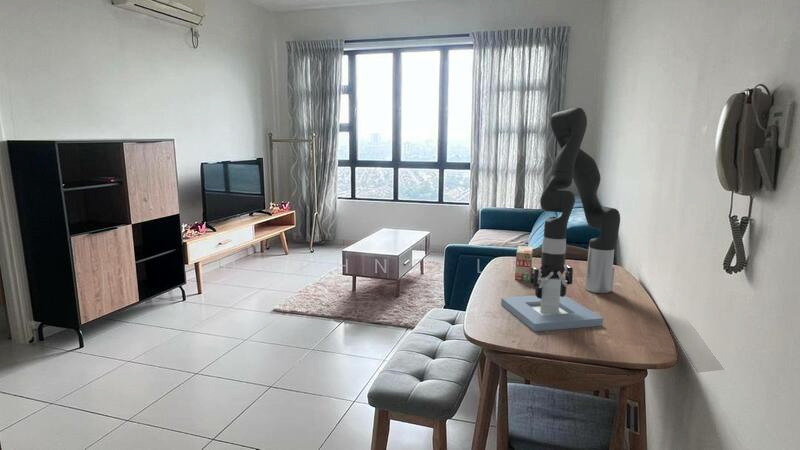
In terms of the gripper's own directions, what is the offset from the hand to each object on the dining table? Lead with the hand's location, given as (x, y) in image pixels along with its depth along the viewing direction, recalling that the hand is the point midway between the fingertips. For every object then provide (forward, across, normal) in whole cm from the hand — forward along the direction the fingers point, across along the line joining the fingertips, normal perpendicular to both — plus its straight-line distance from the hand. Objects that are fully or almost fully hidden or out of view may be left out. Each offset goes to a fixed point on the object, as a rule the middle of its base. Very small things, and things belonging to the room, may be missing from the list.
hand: (550, 297), depth 156 cm
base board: (+6, 0, 0) cm, 6 cm away
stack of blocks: (+7, -15, -46) cm, 49 cm away
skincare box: (+5, 0, 0) cm, 5 cm away
